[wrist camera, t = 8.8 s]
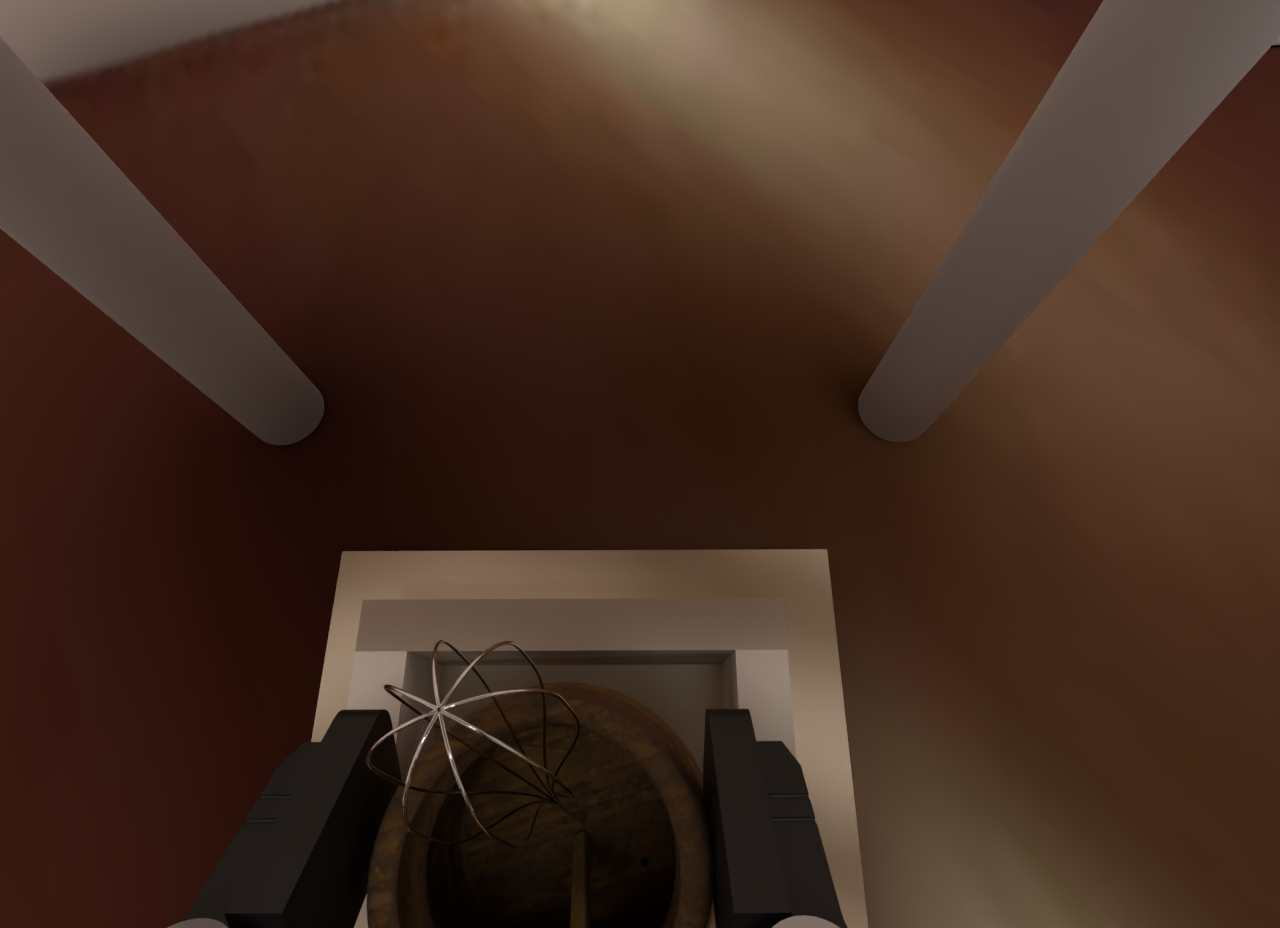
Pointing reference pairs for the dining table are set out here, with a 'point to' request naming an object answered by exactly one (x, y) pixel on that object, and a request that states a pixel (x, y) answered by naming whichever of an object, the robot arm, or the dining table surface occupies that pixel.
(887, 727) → the dining table surface
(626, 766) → the utensil holder
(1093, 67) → the white bench
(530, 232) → the dining table surface
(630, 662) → the socket block
